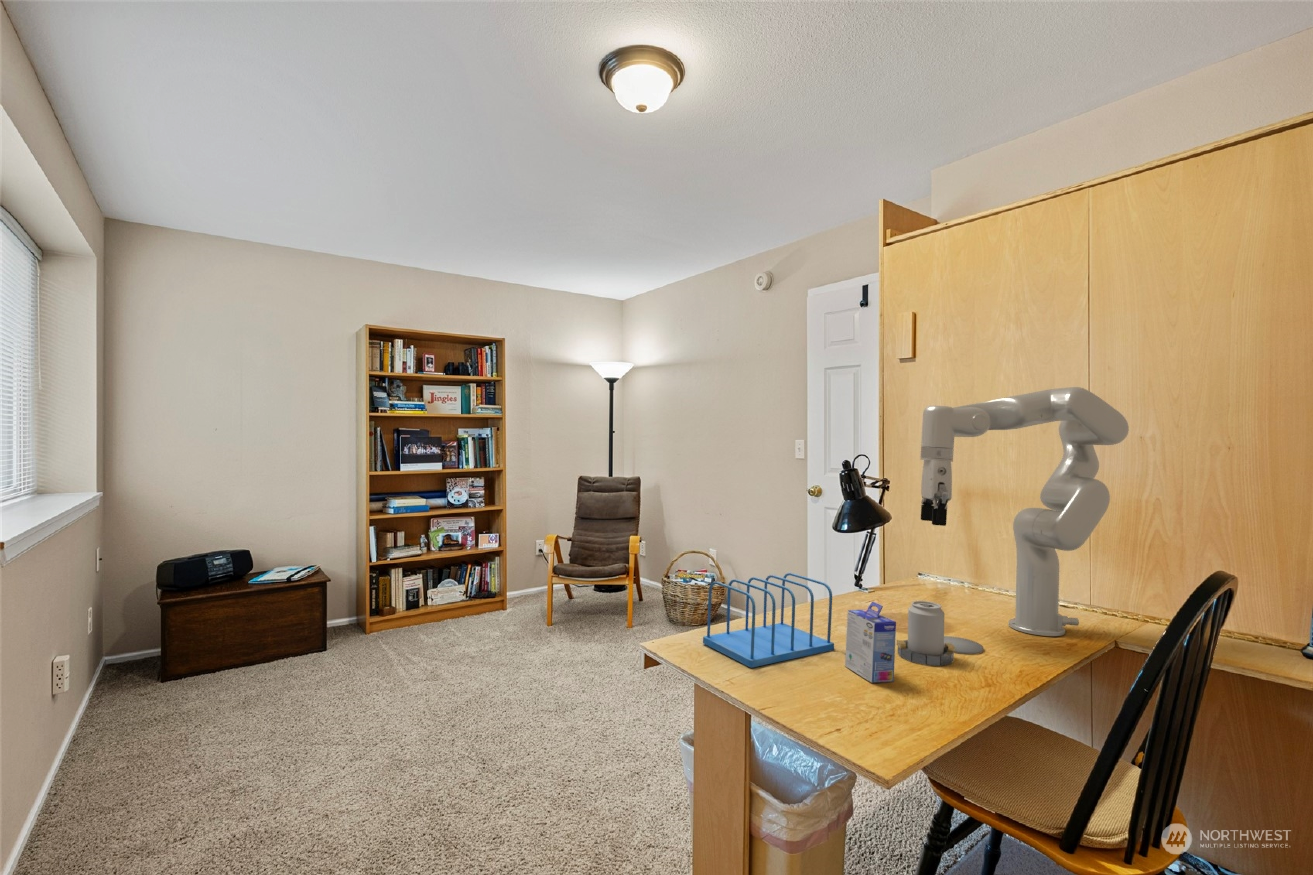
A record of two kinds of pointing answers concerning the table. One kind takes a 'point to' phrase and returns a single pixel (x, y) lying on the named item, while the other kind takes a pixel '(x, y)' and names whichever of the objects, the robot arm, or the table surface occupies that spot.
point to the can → (926, 628)
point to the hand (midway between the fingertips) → (932, 522)
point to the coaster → (964, 645)
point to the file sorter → (768, 629)
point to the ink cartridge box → (870, 644)
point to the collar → (926, 655)
